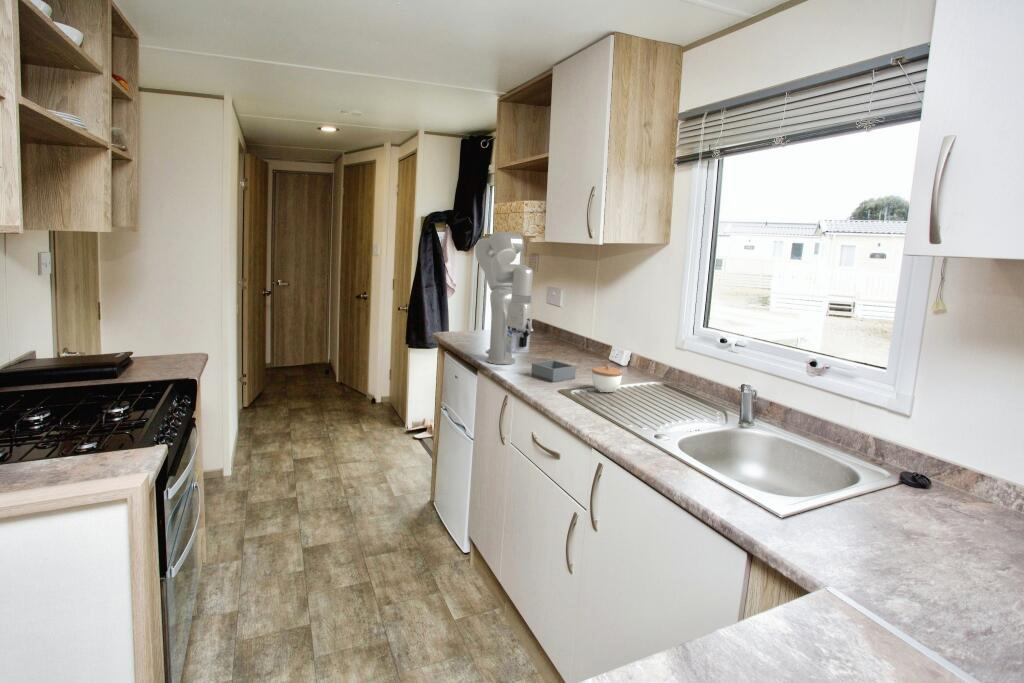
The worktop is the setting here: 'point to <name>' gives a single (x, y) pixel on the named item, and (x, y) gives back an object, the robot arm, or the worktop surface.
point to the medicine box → (516, 342)
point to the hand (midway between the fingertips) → (517, 344)
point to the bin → (553, 371)
